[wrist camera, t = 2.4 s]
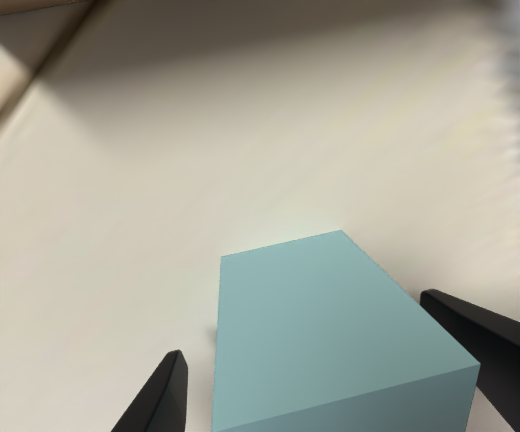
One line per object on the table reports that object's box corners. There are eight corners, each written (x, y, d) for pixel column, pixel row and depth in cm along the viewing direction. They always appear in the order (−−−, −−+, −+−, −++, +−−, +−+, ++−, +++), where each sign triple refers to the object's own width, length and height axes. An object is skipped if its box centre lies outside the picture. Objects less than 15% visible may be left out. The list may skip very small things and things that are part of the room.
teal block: (340, 229, 10) (480, 363, 4) (346, 320, 12) (450, 495, 6) (220, 256, 10) (211, 432, 4) (246, 344, 12) (262, 547, 6)
